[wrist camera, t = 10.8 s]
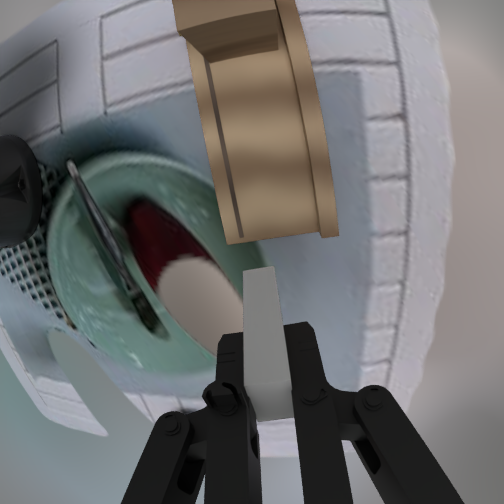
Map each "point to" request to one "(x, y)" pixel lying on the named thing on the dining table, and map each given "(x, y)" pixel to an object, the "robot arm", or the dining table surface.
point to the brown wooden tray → (267, 138)
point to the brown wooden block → (227, 27)
